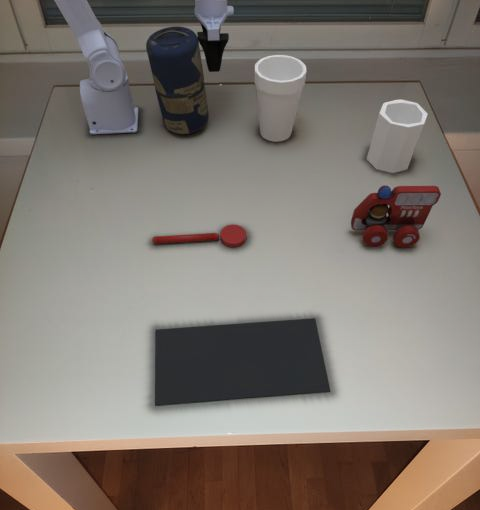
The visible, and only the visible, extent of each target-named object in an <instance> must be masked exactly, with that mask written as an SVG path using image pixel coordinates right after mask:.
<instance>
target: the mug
mask: <svg viewBox="0 0 480 510" xmlns="http://www.w3.org/2000/svg"><path fill="white" fill-rule="evenodd" d="M428 115H429V113H427V111H426V110H425V109H424V108H423V107H422V106H421V105H420V104H419V103H418V102H415V101H410V100H407V99H403V98H402V99H401V98H399V99H393V100H391V101H386V102H383V104H382V105H381V108H380V110H379V113H378V117H377V120H376V124H375V127H374V131H373V135H372V139H371V142H370V145H369V149H368V153H367V156H366V160H367V161H368V163H370V164H371V165H372V166H373V167H374V169H376V170H378V171H382V172H386V173H391V174H396V173H399V172H403V171H407V170H408V168H409V166H410V164H411V160H412V158H413V155H414V153H415V150H416V147H417V146H418V145H417V144H418V142H419V139H420V136H421V135H422V131H423V128H424V126H425V123H426V120H427V117H428Z"/></svg>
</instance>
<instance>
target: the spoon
mask: <svg viewBox="0 0 480 510" xmlns="http://www.w3.org/2000/svg"><path fill="white" fill-rule="evenodd" d="M219 239H220V242H221V243H222V244H223V245H224V246H226V247H228V248H239V247H241V246H243V245H244V244H245V242H246V241H247V231H246V229H245V228H243V226H241V225H239V224H228V225H226V226H224V227H223V228H222V229H221V230H220V233H217V232H210V233H209V232H207V233H193V234H191V233H190V234H174V235H159V236H154V237H152V239H151V241H152V243H153V244H155V245H158V244H161V245H162V244H174V243H175V244H176V243H177V244H178V243H191V242H206V241H218V240H219Z"/></svg>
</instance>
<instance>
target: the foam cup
mask: <svg viewBox="0 0 480 510" xmlns="http://www.w3.org/2000/svg"><path fill="white" fill-rule="evenodd" d="M306 79H307V65H306V64H305V63H304V62H303V61H302V60H300V59H299V58H296V57H294V56H291V55H286V54H285V55H284V54H274V55H268V56H265V57H263V58H260V59H259V60H258V61H256V63H254V82H253V83H254V85H255V92H256V102H257V103H256V104H257V113H258V123H259V124H258V125H259V132H260V135H261V137H262V138H263V139H265V140H267V141H270V142H276V143H277V142H278V143H279V142H284V141H286V140H289V138H290V137H291V135H292V132H293V130H294V124H295V121H296V117H297V112H298V109H299V105H300V101H301V98H302V93H303V89H304V86H305V85H306Z"/></svg>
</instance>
